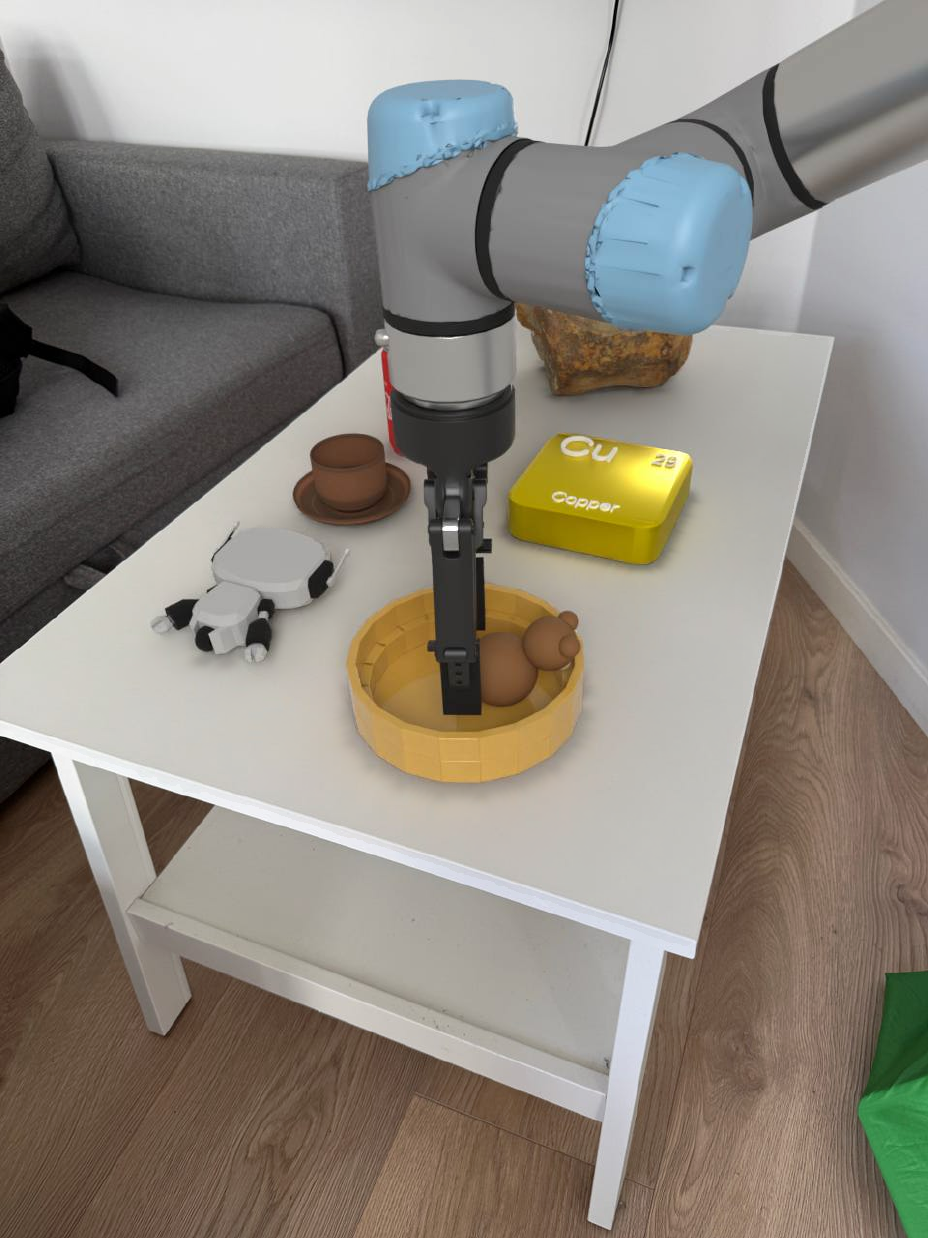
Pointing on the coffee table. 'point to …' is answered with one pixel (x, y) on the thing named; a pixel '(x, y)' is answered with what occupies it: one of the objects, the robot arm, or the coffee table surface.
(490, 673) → the plush bear
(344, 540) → the coffee table surface
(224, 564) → the robot toy
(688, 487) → the element tile
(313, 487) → the cup and saucer
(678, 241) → the robot arm
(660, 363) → the rough brown rock
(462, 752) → the ochre bowl
